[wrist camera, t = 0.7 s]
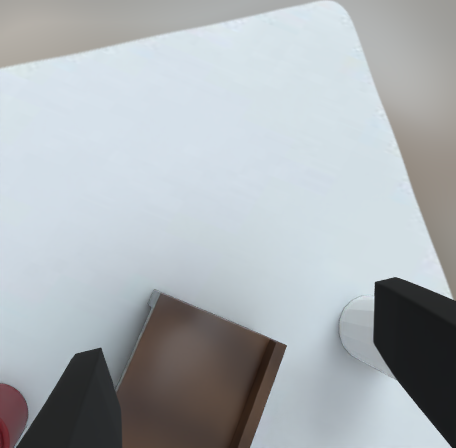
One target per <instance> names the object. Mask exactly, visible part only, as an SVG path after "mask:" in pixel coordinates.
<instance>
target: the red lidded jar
mask: <svg viewBox="0 0 456 448" xmlns="http://www.w3.org/2000/svg"><path fill="white" fill-rule="evenodd" d="M27 419H28V408H27V404H26V401H25V399H24V398H23V396H22V395H21V394H20V392H19V391H17V390H16V389H15V388H13V387H11V386H9V385H6V384H2V383H0V448H14V446H15V444H16V443H17V441H18V439H19V438H20V436H21V434H22V432H23V431H24V429H25V426H26V423H27Z"/></svg>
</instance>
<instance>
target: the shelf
mask: <svg viewBox="0 0 456 448" xmlns="http://www.w3.org/2000/svg"><path fill="white" fill-rule="evenodd" d="M148 304H149V305H150V307H151V308H152V309H151V311H150V313H149V316H148V318H147V320H146V322H145V325H144V327H143V329H142V331H141V334H140V336H139V338H138V340H137V343H136V345H135V347H134V349H133V352H132V354H131V356H130V358H129V361H128V363H127V365H126V367H125V370H124V372H123V374H122V376H121V379H120V381H119V383H118V385H117V388H116V390H115V392H116V395H117V398H118V401H119V404H120V407H121V420H122V448H250V446H251V443H252V440H253V438H254V435H255V432H256V429H257V427H258V424H259V421H260V418H261V416H262V413H263V410H264V407H265V405H266V402H267V399H268V396H269V394H270V391H271V388H272V385H273V382H274V380H275V377H276V374H277V371H278V369H279V366H280V363H281V360H282V358H283V355H284V352H285V349H286V347H287V346H286V345H285V344H282V343H280V342H278V341H276V340H273V339H271V338H269V337H267V336H264V335H262V334H260V333H258V332H255V331H253V330H251V329H248V328H246V327H243V326H241V325H239V324H236V323H234V322H232V321H229V320H227V319H224V318H222V317H220V316H217V315H215V314H212V313H210V312H208V311H205V310H203V309H201V308H198V307H196V306H193V305H191V304H189V303H186V302H184V301H181V300H179V299H177V298H174V297H172V296H170V295H167V294H165V293H162V292H160V291H158V290H155V289H154V290H153V293H152V295H151V297H150V299H149V302H148Z"/></svg>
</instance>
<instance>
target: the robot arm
mask: <svg viewBox="0 0 456 448" xmlns="http://www.w3.org/2000/svg"><path fill="white" fill-rule="evenodd" d="M373 343H374V345H375V347H376V348H377V350H378V352H379V353H380V355H381V357H382V358H383V360H384V362H385V363H386V365H387V366H388V368H389V369H390V371H391V372H392V374H393V375H394V377H395V378H396V379H397V381H398V382H399V383H400V384H401V386H402V387H403V388H404V389H405V391H406V392H407V393H408V394H409V396H410V397H411V398H412V399H413V401H414V402H415V403H416V404H417V405H418V407H419V408H420V409H421V410H422V412H423V413H424V414H425V415H426V416H427V418H428V419H429V420H430V421H431V423H432V424H433V425H434V426H435V427H436V429H437V430H438V431H439V432H440V434H441V435H442V436H443V437H444V438H445V440H446V441H447V442H448V443H449V445H450V446H451V447H452V448H456V301H454V300H452V299H450V298H447V297H445V296H443V295H440V294H438V293H435V292H433V291H431V290H428V289H426V288H423V287H421V286H418V285H416V284H413V283H411V282H408V281H406V280H403V279H400V278H397V277H394V278H390V279H386V280H381V281H377V282H375V293H374V326H373ZM16 448H122V420H121V407H120V404H119V401H118V398H117V395H116V392H115V389H114V386H113V382H112V379H111V376H110V373H109V370H108V367H107V364H106V361H105V358H104V355H103V352H102V349H101V348H98V349H93V350H89V351H85V352H81V353H77V354H75V355H74V357H73V358H72V359H71V361H70V363H69V364H68V366H67V368H66V369H65V371H64V373H63V374H62V376H61V378H60V379H59V381H58V383H57V384H56V386H55V388H54V389H53V391H52V393H51V394H50V396H49V398H48V399H47V401H46V403H45V404H44V406H43V407H42V409H41V410H40V412H39V414H38V415H37V417H36V418H35V420H34V421H33V423H32V424H31V426H30V428H29V429H28V431H27V432H26V434H25V435H24V437H23V438H22V440H21V441H20V443H19V444H18V445H17V447H16Z"/></svg>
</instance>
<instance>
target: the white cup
mask: <svg viewBox="0 0 456 448" xmlns="http://www.w3.org/2000/svg"><path fill="white" fill-rule="evenodd" d="M373 326H374V295H368V296H361V297H358V298H356V299H354V300H352V301H351V302H350V303H349V304H348V305H347V306H346V307H345V308H344V310H343V312H342V315H341V318H340V320H339V335H340V338H341V341H342V344H343V346H344V347H345V349H346V350H347V351H348V352H349V354H350V355H351V356H353V357H355V358H357V359H359V360H361V361H362V362H364V363H366V364H368V365H370V366H372V367H373V368H375V369H377V370H379V371H381V372H383V373H384V374H386V375H388V376H390V377H392V378H394V379H395V380H397V379H396V378H395V377H394V375H393V374H392V372H391V371H390V369H389V368H388V366H387V365H386V363H385V362H384V360H383V358H382V357H381V355H380V353H379V352H378V350H377V348H376V347H375V345H374V343H373Z"/></svg>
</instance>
